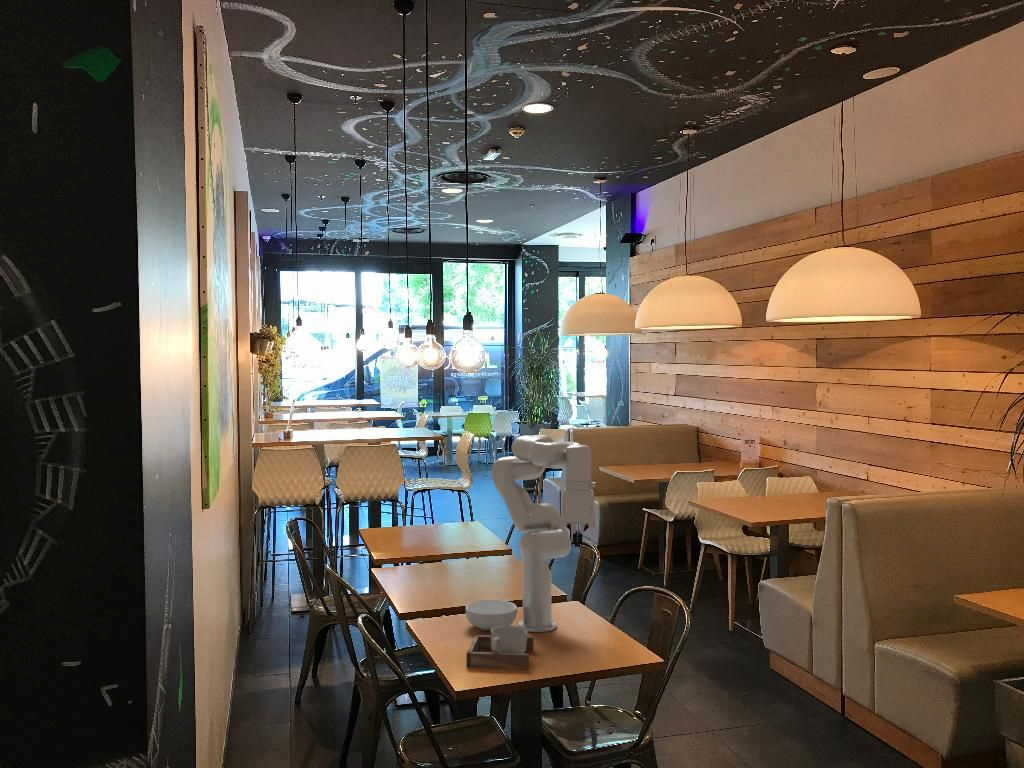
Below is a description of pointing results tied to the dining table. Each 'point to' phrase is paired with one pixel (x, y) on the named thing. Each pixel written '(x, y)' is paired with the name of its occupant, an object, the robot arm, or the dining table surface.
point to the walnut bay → (496, 655)
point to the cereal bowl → (491, 613)
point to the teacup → (508, 639)
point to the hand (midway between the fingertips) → (577, 545)
